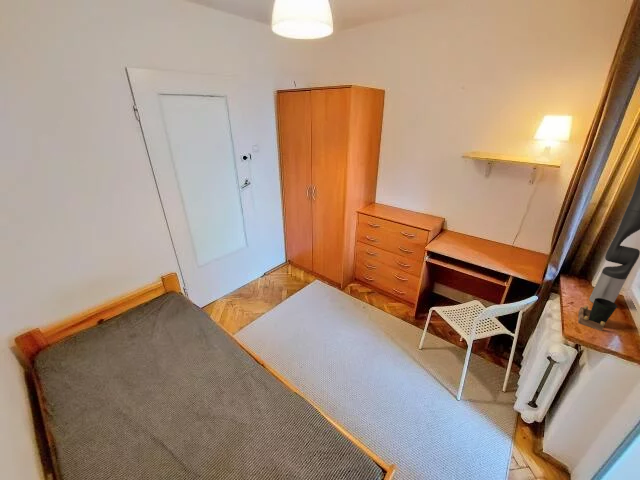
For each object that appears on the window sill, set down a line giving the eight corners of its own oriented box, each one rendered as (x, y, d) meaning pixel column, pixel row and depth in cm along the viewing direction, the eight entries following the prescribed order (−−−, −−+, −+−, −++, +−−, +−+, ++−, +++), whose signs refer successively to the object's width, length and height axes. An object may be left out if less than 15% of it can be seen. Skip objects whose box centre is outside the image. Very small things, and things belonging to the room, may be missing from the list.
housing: (578, 311, 141) (581, 304, 139) (600, 318, 135) (604, 311, 134) (578, 323, 132) (581, 315, 130) (601, 331, 127) (605, 323, 125)
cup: (584, 316, 137) (594, 296, 133) (605, 322, 133) (616, 302, 128) (585, 323, 132) (595, 302, 127) (607, 330, 127) (618, 309, 123)
